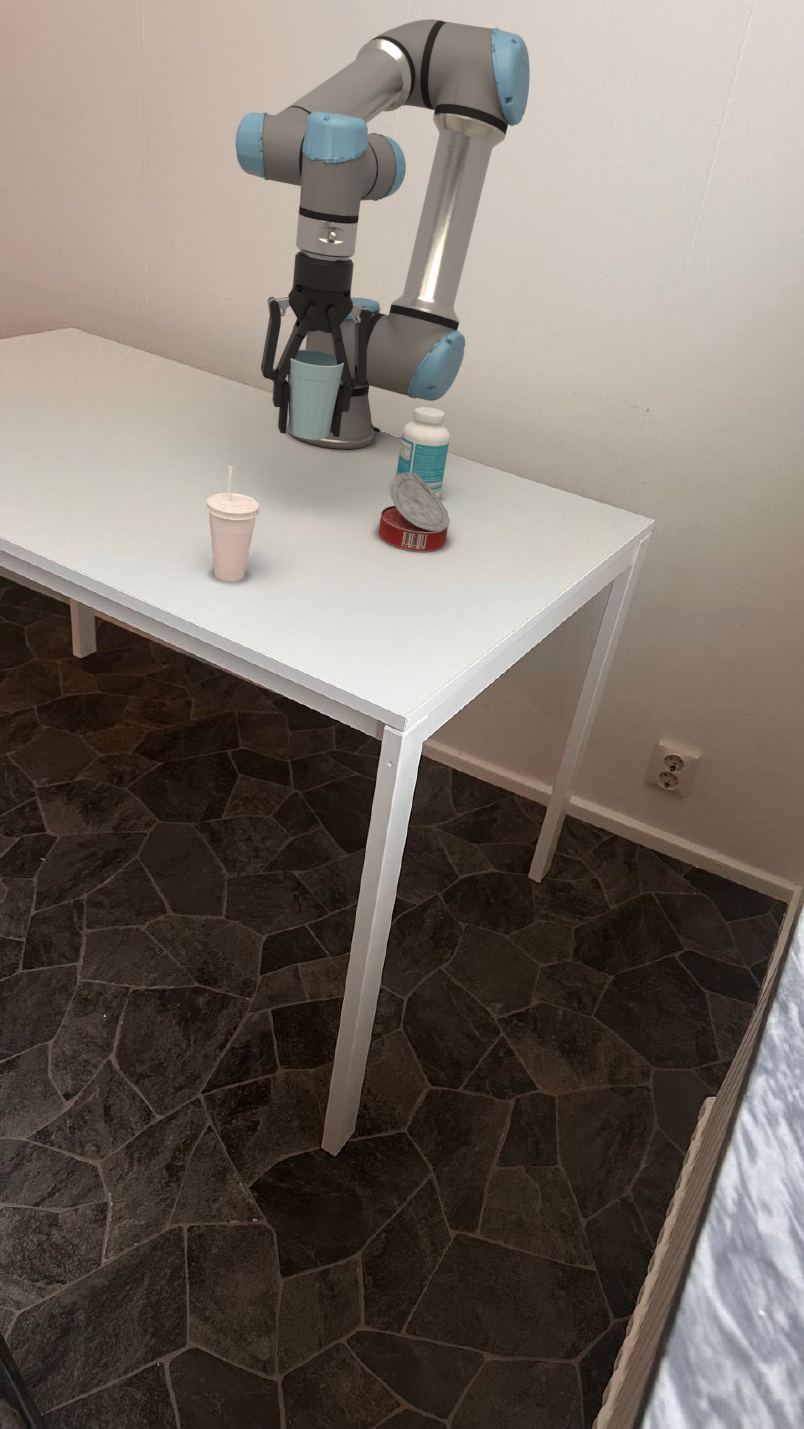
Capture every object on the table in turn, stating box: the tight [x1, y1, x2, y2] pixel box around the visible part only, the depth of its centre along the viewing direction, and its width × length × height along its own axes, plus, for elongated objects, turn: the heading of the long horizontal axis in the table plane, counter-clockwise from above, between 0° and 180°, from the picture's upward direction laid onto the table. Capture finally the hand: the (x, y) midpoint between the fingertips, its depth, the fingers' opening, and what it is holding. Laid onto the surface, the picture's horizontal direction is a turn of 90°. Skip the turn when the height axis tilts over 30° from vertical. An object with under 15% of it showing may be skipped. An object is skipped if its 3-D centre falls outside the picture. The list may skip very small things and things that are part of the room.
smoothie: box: [205, 466, 260, 583], centre depth 121 cm, size 6×6×14 cm
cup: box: [287, 349, 344, 440], centre depth 136 cm, size 8×8×10 cm
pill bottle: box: [395, 406, 451, 499], centre depth 155 cm, size 8×7×14 cm
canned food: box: [377, 472, 450, 553], centre depth 142 cm, size 11×10×10 cm
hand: (308, 431), depth 138 cm, fingers closed on cup, 7 cm apart
